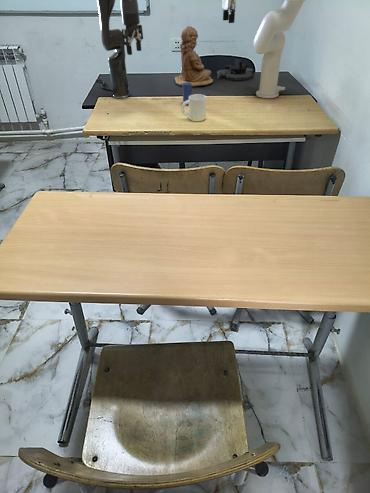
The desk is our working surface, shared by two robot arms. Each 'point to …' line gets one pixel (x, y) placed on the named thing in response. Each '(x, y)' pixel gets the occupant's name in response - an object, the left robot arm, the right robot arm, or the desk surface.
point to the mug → (195, 107)
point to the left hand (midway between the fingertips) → (134, 52)
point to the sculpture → (192, 61)
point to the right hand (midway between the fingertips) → (228, 21)
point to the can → (187, 91)
